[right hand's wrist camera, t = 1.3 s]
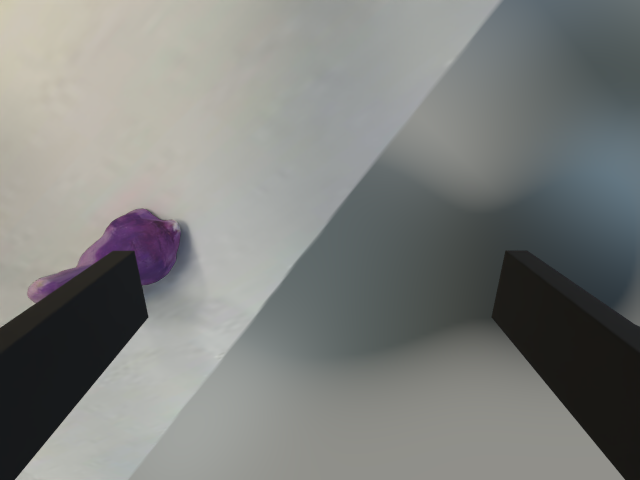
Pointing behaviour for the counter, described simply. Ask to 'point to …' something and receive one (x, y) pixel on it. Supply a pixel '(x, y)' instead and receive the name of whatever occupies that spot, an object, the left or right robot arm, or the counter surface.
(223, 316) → the counter surface
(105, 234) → the figurine
